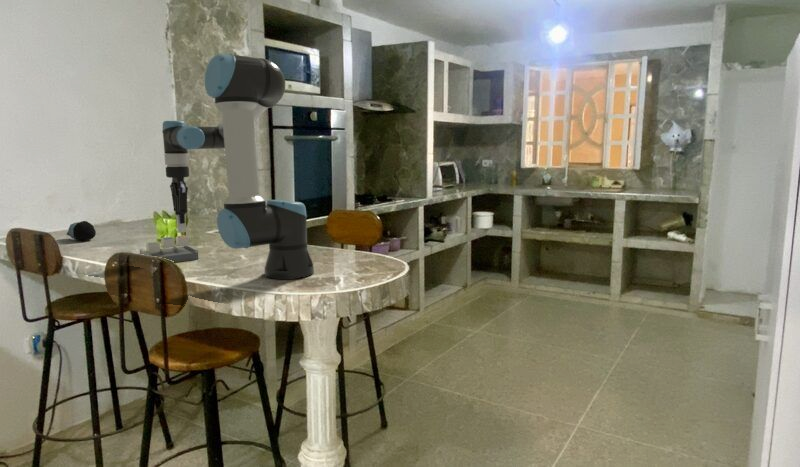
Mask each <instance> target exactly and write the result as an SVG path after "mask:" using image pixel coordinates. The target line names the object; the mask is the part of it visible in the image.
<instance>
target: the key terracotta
mask: <svg viewBox="0 0 800 467" xmlns="http://www.w3.org/2000/svg"><path fill="white" fill-rule="evenodd" d="M188 245H190V237H189V236H188V235H177V236H175V246H177V247H184V246H188ZM190 246H191V245H190Z"/></svg>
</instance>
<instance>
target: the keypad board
mask: <svg viewBox="0 0 800 467" xmlns="http://www.w3.org/2000/svg"><path fill="white" fill-rule="evenodd" d="M198 249H199V248H196V247H193V246H191V245H188V246H177V247H176V246H175V247H171V248H162V249H161V248H160V252H155V253H148V252H147V250H144V249H143V248H139V255H140V254H144V255H149V256H157V257H162V258H166V259H169V260H172V261H174V262H175V263H180V262H189V261H196V260H197V261H198V260H199V250H198Z"/></svg>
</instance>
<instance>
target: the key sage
mask: <svg viewBox="0 0 800 467" xmlns="http://www.w3.org/2000/svg"><path fill="white" fill-rule="evenodd" d="M145 247H146V251H147V252H148V253H155V252H160V249H161V242H158V241H149V242H146V243H145Z"/></svg>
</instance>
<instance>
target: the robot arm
mask: <svg viewBox="0 0 800 467" xmlns="http://www.w3.org/2000/svg"><path fill="white" fill-rule="evenodd" d="M204 88H205V91H206V93H207V95H208V96H209V97H211V98H213V99H214V104H215V106H216V107H217V108H218V109H219V110H220V111H221V122H220V123H219V124H218V125H217V126H194V125H187V124H186V122H185V121H183V120H164V121H163V122H162V130H161V131H162V138H163V151H164V165H165V166H166V167H165V176H166V178H168V179H169V178H170V179H172V180H171V183H170V184H169V188H170V191H171V192H170V193H171V197H172V206H173V211H174V213H175V217H176V229H177V231H176V232H177V233H178V234H180V233H187V220H186V214H187V213H188V189H189V188H188V186H187V183H186V182H185V178H188V177H190V167H189V166H188V165H189V159H190V156H189V154H188V153H189V150H206V149H207V150H210V149H211V150H212V149H215V150H217V149H218V150H220V149H221V150H223V149H224V156H225V157H224V158H225V169H226V179H227V189H228V190H227V191H228V196H227V198H226V199H225V201H223V208H222V209H221V210H219V211H218V213H217V217H216V224H217V229H218V233H219V235H220V238H221V239H222V240H223V243H224V244H225V245H226V246H228V248H230V249H234V250H237V249H248V248H251V247H252V248H253V247H258V246H260V247H261V246H264V245H265V246H266V245H269V246H268V250H269V251H268V254H267V258H266V262H265V266H264V276H265V278H269V279H274V280H292V279H291V278H297V279H301V278H300V277H303V278H306V276H307V277H309V275H310V276H312V275H313V274H314V273H315V272H314V270H315V268H314V267H315V266H314V262H313V261H312V260H313V259H312V258H311V255H310V252H309V249H308V229H307V228H308V227H307V223H308V222H307V218H308V215H307V209H306V205H305V204H304V203H303V202H301V201H292V200H282V199H281V200H280V199H267V202H266V199H265V198H264V197H262V196H261V194H260V184H259V183H260V182H259V170H258V157H257V144H256V132H255V131H256V130H255V122H256V121H257V119H259V117H261V116H262V114H264V112H265V111H266V110H267V109H269V108H270V109H271V108H273V107H274V106H276V105H277V104H278V103H279V102H280V101H281V100H282V98H283V96H284V94H285V91H286V79H285V75H284V73H283V72H282V70H281V69H280V67H279V66H278V65H277V64H276V63H274V62H273V61H271V60H270V59H266V58H263V57H262V58H260V57H259V58H258V57H251V56H244V55H239V54H238V55H237V54H233V53H230V54H229V53H228V54H227V53H226V54H221V53H220V54H219V53H218V54H216V55H214V56H213V57H212V58H211V59H210V60H209V61H208V64H207V66H206V69H205V74H204ZM311 274H312V275H311Z"/></svg>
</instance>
